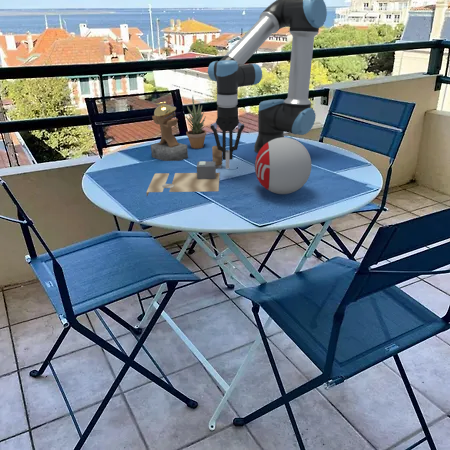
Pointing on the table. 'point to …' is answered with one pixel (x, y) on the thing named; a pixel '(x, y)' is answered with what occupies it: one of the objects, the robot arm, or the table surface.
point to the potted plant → (196, 128)
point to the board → (183, 183)
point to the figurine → (167, 136)
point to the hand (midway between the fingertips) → (227, 167)
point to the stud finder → (206, 170)
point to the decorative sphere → (283, 165)
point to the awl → (217, 156)
